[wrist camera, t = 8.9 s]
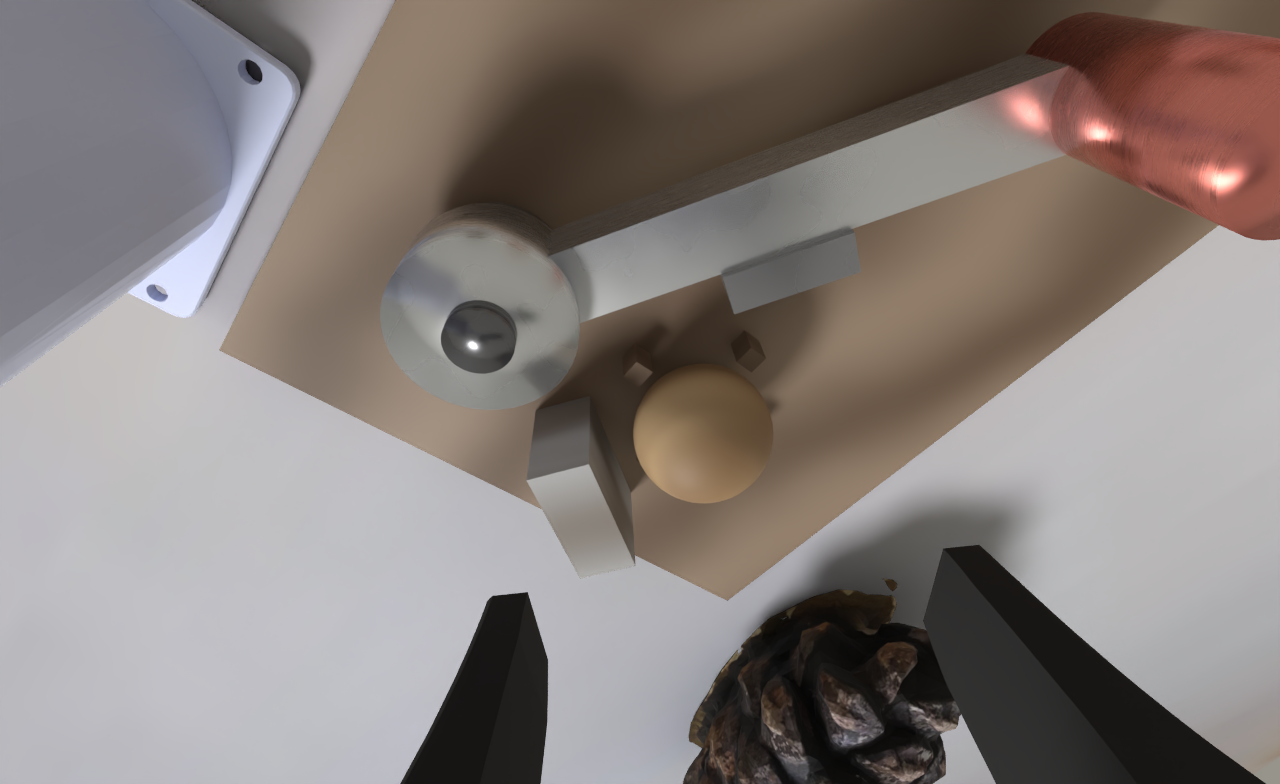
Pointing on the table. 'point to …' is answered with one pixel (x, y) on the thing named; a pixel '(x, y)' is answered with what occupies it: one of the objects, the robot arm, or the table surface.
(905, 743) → the pine cone
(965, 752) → the table surface
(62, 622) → the table surface
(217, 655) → the table surface
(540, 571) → the table surface
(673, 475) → the tan round ball
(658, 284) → the lever
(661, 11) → the base
